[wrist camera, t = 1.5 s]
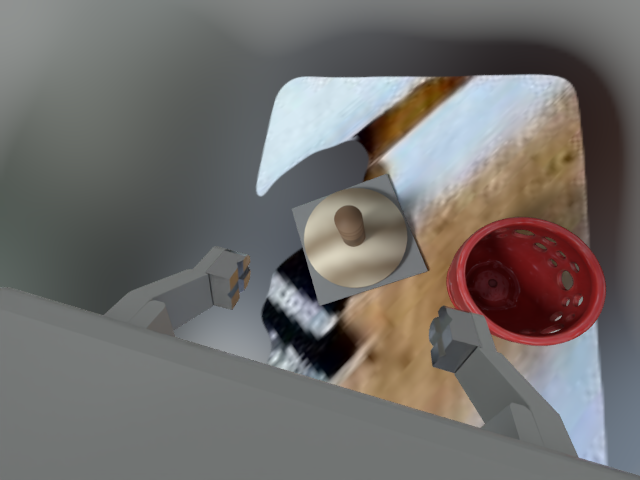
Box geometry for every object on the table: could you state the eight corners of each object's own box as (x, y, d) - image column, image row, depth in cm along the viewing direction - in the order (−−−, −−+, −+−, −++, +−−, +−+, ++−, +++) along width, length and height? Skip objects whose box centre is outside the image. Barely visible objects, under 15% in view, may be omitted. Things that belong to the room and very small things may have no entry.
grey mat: (427, 271, 41) (427, 270, 40) (320, 305, 43) (319, 305, 42) (386, 175, 46) (386, 173, 45) (292, 209, 48) (291, 208, 47)
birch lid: (423, 268, 40) (435, 257, 31) (321, 301, 42) (306, 299, 33) (385, 177, 45) (386, 144, 36) (295, 210, 47) (275, 186, 38)
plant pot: (471, 224, 41) (507, 191, 30) (559, 281, 37) (640, 268, 26) (416, 291, 40) (432, 284, 29) (500, 357, 36) (557, 379, 25)
